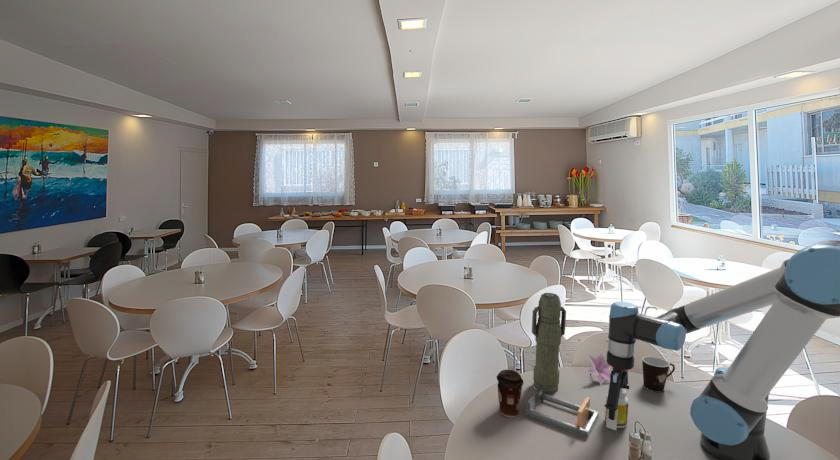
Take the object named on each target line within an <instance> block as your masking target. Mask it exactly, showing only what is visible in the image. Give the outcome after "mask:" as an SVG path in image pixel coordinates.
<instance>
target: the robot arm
mask: <svg viewBox="0 0 840 460" xmlns="http://www.w3.org/2000/svg"><path fill="white" fill-rule="evenodd" d="M769 306H770V308H769V309H768V311H767V312H766V313H765V315H764V316H763V318H762V319H761V321H760V322H759V323H758V325H756V328H755V329H754V330H753V332H752V333H751V335H750V336H749V338H748V339H747V341H746V342H745V343H744V345H743V347H742V348H741V349H740V351H739V352H738V354H737V355H736V356H735V358H734V360H733V361H732V362H731V363H730V365H729V366H728V367H726V366H721V367H717V368H716V369H715V371H714V373H713V376H712V378H711V379H710V380H709V382H708V383H707V385H706V387H704V389H703V391H702V392H701V393H700V395H699V396H697V397H696V398H694V399H693V400H692V403H691V406H690V409H689V413H690V417H691V419H692V421H693V424H694V425H695V427H696V428H697V429H698V430H699V432H700V444H701V447H703V449H704V450H705V451H707V453H709V454H711V456H713V457H715V458H716V459H718V460H771V453H770V451H769V447H768V444H767V439H766V437H765V429H766V421H767V413H768V409H769V406H768V403H769V395H770V394H771V391H773V389H774V388H775V387H776V385H777V384H778V382H780V379H782V378H783V376H784V375H785V374H786V372H787V371H788V370H789V368H790V367H791V365H792V364H793V363H794V362H795V360H796V359H797V358H798V356H799V355H800V354H801V352H803V350H804V348H806V346H807V345H808V344H809V343H810V341H811V340H812V338H813V337H814V336H815V334H816V333H817V332H818V331H819V330H820V328H821V327H822V326H823V324H824V323H825V322H826V320H829V319H837V318H840V240H835V239H834V240H824V241H819V242H817V243H814V244H812V245H809V246H807V247H803V248H802V249H800V250H797V252H795V253H794V254H793V255H791V257H790V258H789V259H786V260H783V261H782V262H781V266H780V267H777V268H775V269H772V270H770V271H766V272H763V273H762V274H759V275H757V276H755V277H751V278H750V279H747V280H745V281H742V282H739V283H737V284H734V285H732V286H729V287H726V288H724V289H722V290H719V291H717V292H714V293H712V294H709V295H707V296H704V297H702V298H699V299H697V300H694V301H692V302H689V303H686V304H685V305H682V306H679V307H676V308H672V309H670V310H668V311H667V312H665V313H663V314H661V315H659V316H657V317H653V316H650V315H646V314H642V313H640V312H639V307H638V305H636V304H634V303H632V302H628V301H615V302H612V303H611V305H610V310H609V316H608V320H609V321H608V336H607V338H606V339H605V342H606V343H607V351H606V363H608V364H609V365H610V366H612V367H611V368H612V370H611V371H610V372H611V375H610V381H609V386H608V393H607V394H608V398H607V405H606V403H604V407H605V409H606V408H607V421H605V424H606V426H605V427H606V428H608V429H610V430H614V431H617V415H618V409H617V406H618V400H619V395H620V390H621V388H624V389H625V390H626V392H627V390H630V385H629V374H628V373H629V372H628V371H630V370H632V369H634V367H635V354H636V345H637V342H636V341H641V342H645V343H648V344H650V345H653V346H656V347H659V348H663V349H665V350H670V351H680V350H681V349H682V348H683V346H684V343H685V341H686V336H687V334H691V333H692V332H697V331H699V330H701V329H704V328H707V327H711V326H714V325H716V324H719V323H722V322H725V321H728V320H731V319H734V318H737V317H739V316H742V315H746V314H748V313H752V312H755V311H757V310H760V309H763V308H766V307H769Z"/></svg>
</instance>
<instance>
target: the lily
mask: <svg viewBox="0 0 840 460" xmlns="http://www.w3.org/2000/svg"><path fill="white" fill-rule="evenodd" d="M605 357H606V356H605V355H604V352H603V351H602V350H600V351H599V353H598V356H597V357H593V356H591V355H588V358H589V360H590V362H591V364H592V366H590V367H589V369H588V373H589V374H590V376H591V375H595V376H597V379H598V382H599V385H600V386H602V385H603V384H604V381H605V379H606V380H608V381H609V382H610V375H611V371H610V370H611V369H612V368H613V367H612V366H610V365H609V364H608V363H607V362H606V358H605Z"/></svg>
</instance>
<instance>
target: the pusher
mask: <svg viewBox="0 0 840 460" xmlns="http://www.w3.org/2000/svg"><path fill="white" fill-rule="evenodd" d="M542 401H543V402H542V403H544V404H547V405H550V406H553V407H555V408H558V409H561V410H564V411H566V412H570V413H573V414H575V415H576V416H577V418H576V420H577V421H576V426H578V427H581V428H584V426H585V424H586V422H587V420H588V418H589V417H590V416H589V409H590V405H591V404H590V403H591V402H590V401H591V398H590V397H588V396H586V397H585V399H584V400H583V402H582V403H581V405H580V406H581V407H580V408H579V410H578V411H575V410H572V409H569V408H566V407H563V406H560V405H557V404H554V403H551V402H549V401H546V400H542Z"/></svg>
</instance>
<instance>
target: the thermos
mask: <svg viewBox="0 0 840 460" xmlns="http://www.w3.org/2000/svg"><path fill="white" fill-rule="evenodd" d="M531 315H532V320H531V321H532V322H531V333H532V334H533V335H534V337H535V338H534V339H535V343H536V345H535V365H534V366H533V378H532V379H533V385H534V386H533V388H534V387H535V388H536V389H537V390H538V389H539V388H541V389H542V393H544V394H554V393H557V392H559V384H560V369H559V359H560V358H559V355H560V354H559V352H560V345H561V343H562V337H563V336H565V333H566V320H567V319H566V318H567V310H566V309H565V308H564V307H563V306H562V302H561V299H560V296H559V295H558V294H556V293H553V292H544V293H542V294H541V295H540V297H539V300H538V305H537V306H535V307H534V308H533V310H532V314H531ZM537 315H538V316H537ZM560 318H561V320H560ZM535 388H534V389H535ZM536 389H535V390H536ZM537 390H536V391H537Z"/></svg>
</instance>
